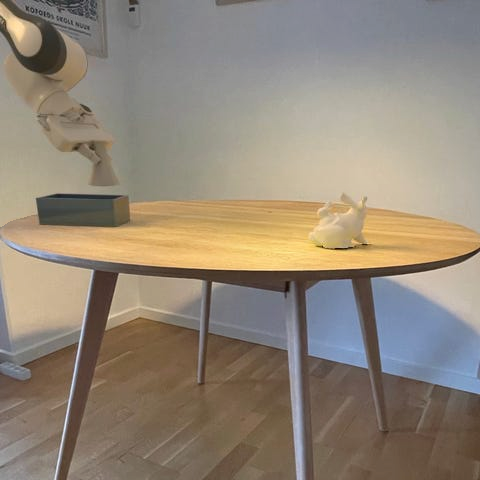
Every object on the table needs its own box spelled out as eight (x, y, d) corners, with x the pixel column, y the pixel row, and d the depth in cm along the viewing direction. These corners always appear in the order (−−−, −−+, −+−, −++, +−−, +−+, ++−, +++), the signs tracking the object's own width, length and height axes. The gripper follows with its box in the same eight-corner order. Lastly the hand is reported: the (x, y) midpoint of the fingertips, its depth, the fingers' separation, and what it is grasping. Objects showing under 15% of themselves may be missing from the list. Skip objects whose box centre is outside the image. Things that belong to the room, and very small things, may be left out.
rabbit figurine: (371, 243, 87) (377, 189, 83) (381, 252, 80) (388, 194, 76) (306, 242, 87) (309, 188, 83) (310, 251, 80) (314, 193, 76)
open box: (39, 224, 101) (35, 197, 99) (59, 217, 110) (56, 193, 108) (115, 227, 99) (113, 200, 97) (130, 220, 108) (128, 195, 106)
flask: (86, 187, 107) (81, 140, 103) (89, 184, 113) (84, 140, 110) (119, 187, 108) (115, 140, 105) (119, 184, 115) (116, 140, 111)
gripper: (39, 101, 97) (86, 153, 98) (94, 108, 115) (132, 151, 116) (24, 125, 100) (70, 174, 101) (80, 127, 118) (118, 169, 119)
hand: (104, 162), depth 109 cm, fingers closed on flask, 3 cm apart
